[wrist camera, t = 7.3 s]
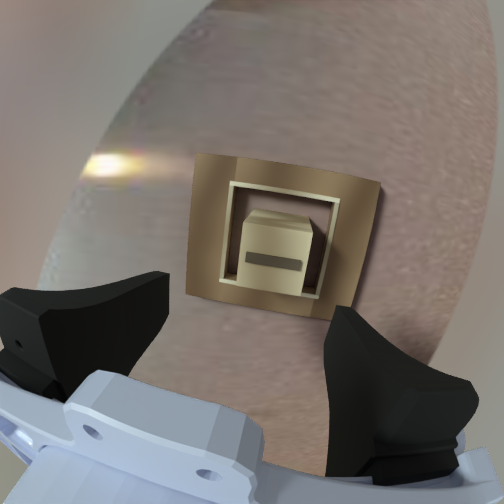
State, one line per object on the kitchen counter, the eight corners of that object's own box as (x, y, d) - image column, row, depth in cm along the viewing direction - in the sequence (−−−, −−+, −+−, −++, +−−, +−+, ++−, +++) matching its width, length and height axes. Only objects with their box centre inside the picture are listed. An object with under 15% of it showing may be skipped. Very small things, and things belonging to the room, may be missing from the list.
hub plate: (376, 181, 19) (381, 182, 18) (343, 314, 23) (345, 322, 21) (201, 153, 20) (195, 153, 19) (190, 287, 24) (185, 294, 23)
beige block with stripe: (308, 216, 21) (313, 234, 16) (299, 267, 22) (300, 297, 17) (254, 208, 21) (242, 222, 16) (248, 259, 22) (235, 286, 17)
